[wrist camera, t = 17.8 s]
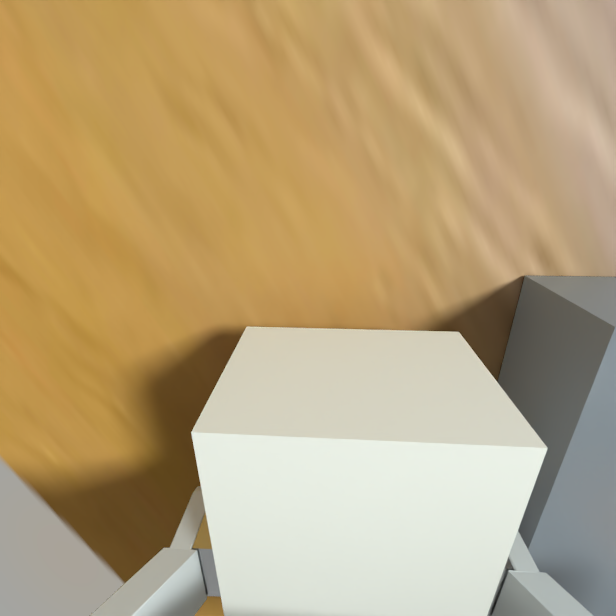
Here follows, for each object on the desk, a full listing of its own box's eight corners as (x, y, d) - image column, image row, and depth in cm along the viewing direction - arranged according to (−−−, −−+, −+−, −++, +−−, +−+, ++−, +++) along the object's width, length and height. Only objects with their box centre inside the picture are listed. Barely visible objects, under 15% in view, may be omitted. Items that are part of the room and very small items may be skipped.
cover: (409, 587, 12) (439, 747, 9) (267, 577, 12) (244, 728, 9) (458, 332, 8) (548, 448, 5) (246, 326, 8) (191, 431, 5)
